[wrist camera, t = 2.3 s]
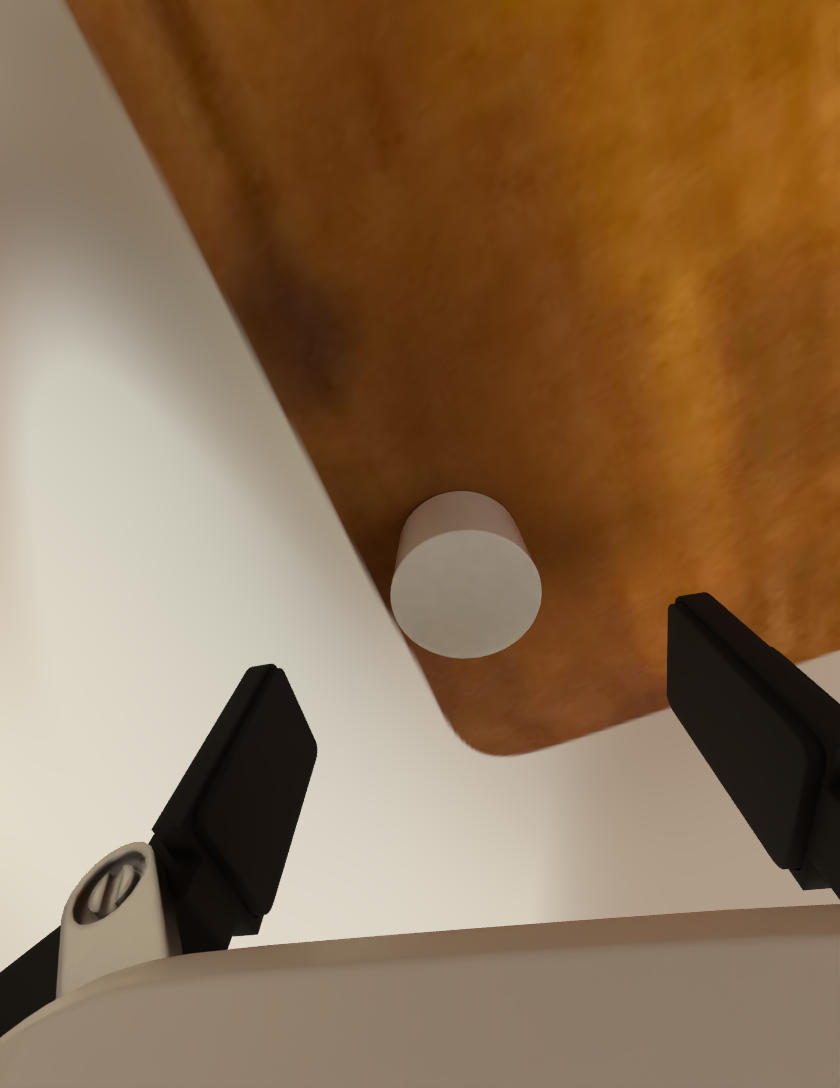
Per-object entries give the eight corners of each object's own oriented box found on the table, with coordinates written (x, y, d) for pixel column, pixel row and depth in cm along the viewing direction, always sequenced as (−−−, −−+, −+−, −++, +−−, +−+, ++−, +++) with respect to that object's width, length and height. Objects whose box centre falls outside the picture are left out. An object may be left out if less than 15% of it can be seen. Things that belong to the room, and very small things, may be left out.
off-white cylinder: (385, 504, 15) (372, 547, 12) (511, 478, 15) (533, 515, 12) (414, 607, 17) (409, 668, 14) (527, 588, 17) (549, 646, 13)
